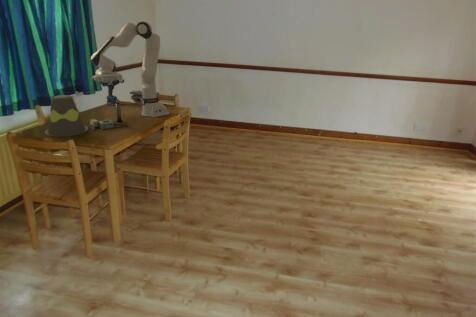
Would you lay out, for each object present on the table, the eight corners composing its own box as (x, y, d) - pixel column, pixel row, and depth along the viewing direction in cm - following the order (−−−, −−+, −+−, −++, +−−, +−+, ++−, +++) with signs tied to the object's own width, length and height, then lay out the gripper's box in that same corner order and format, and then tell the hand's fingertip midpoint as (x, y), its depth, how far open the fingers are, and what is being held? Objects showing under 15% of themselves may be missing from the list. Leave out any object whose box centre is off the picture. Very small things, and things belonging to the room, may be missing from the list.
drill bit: (121, 124, 273) (119, 99, 266) (122, 125, 270) (120, 99, 264) (117, 125, 271) (114, 99, 264) (118, 126, 269) (116, 100, 262)
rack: (123, 123, 276) (123, 119, 275) (127, 125, 270) (126, 122, 269) (112, 124, 272) (112, 120, 271) (116, 127, 266) (115, 123, 265)
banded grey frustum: (40, 137, 239) (34, 101, 230) (48, 126, 264) (43, 92, 255) (86, 135, 246) (82, 99, 238) (89, 124, 271) (86, 91, 263)
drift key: (96, 124, 270) (95, 118, 269) (98, 127, 265) (98, 121, 263) (90, 125, 268) (89, 119, 267) (93, 127, 262) (92, 122, 261)
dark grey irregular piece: (159, 104, 339) (159, 92, 335) (156, 106, 332) (155, 94, 328) (134, 102, 343) (133, 90, 339) (130, 104, 336) (129, 92, 332)
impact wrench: (123, 106, 326) (121, 78, 317) (100, 104, 330) (97, 76, 321) (128, 104, 333) (125, 76, 324) (105, 102, 337) (102, 75, 328)
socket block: (110, 125, 271) (110, 119, 269) (113, 127, 265) (113, 122, 263) (89, 127, 263) (89, 122, 261) (92, 130, 257) (92, 124, 256)
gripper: (90, 72, 273) (95, 75, 262) (118, 71, 284) (124, 73, 273) (91, 81, 275) (96, 84, 264) (119, 79, 286) (125, 82, 275)
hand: (111, 79), depth 269 cm, fingers open, 8 cm apart
